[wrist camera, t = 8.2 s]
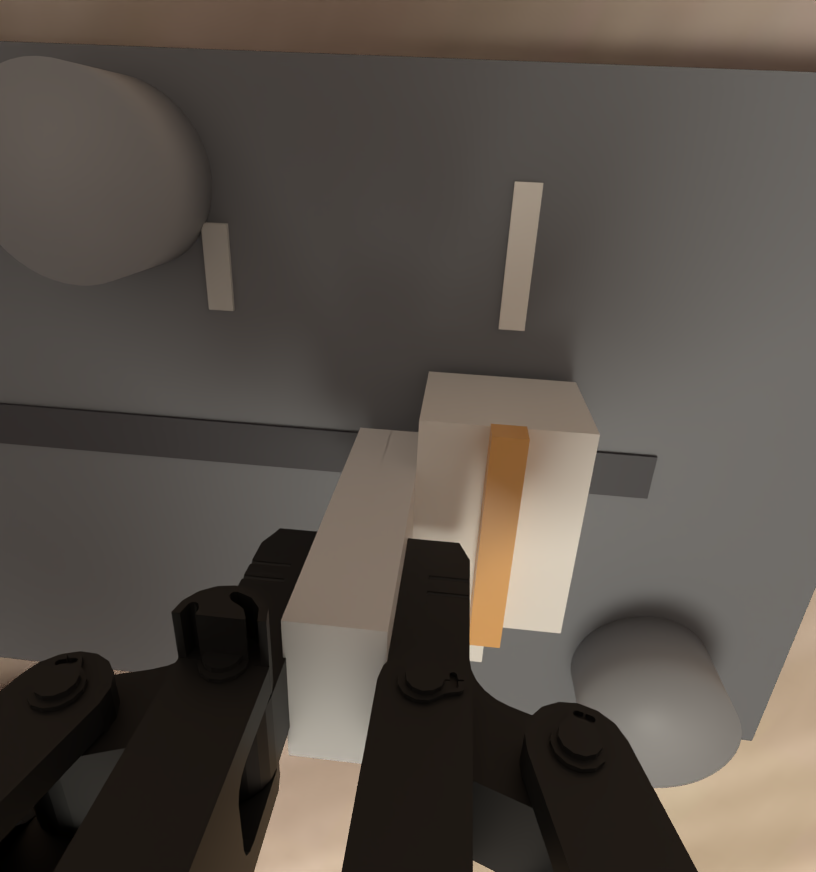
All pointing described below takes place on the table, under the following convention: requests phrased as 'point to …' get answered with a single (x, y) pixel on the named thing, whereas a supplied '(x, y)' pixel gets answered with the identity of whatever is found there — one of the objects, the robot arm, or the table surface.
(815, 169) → the console
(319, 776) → the table surface
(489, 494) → the fader
